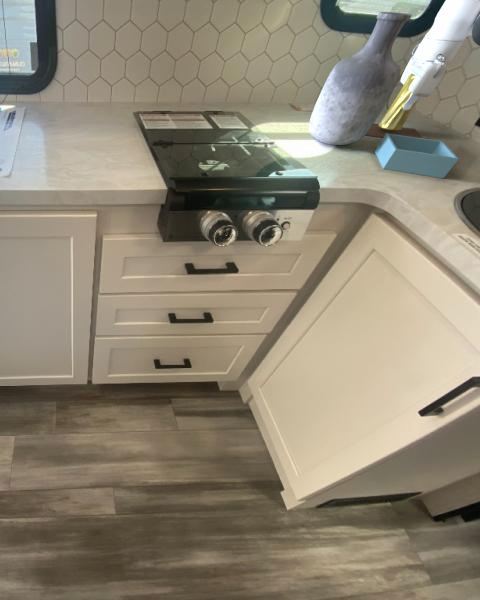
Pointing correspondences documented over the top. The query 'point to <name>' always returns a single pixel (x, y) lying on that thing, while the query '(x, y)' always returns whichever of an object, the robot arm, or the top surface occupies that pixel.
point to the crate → (415, 155)
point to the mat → (391, 132)
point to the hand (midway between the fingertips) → (402, 106)
